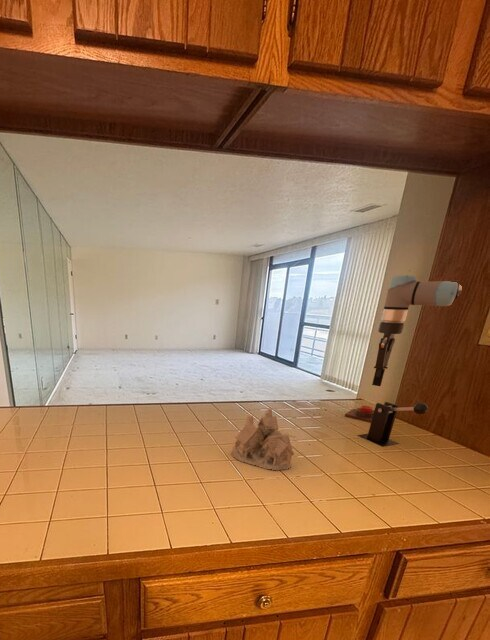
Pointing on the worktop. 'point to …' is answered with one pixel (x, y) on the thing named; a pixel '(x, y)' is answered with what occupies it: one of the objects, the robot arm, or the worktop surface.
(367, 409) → the red button
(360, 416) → the button block
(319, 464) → the worktop surface
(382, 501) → the worktop surface
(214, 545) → the worktop surface
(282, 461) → the ceramic cottage
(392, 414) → the bracket
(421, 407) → the switch lever
